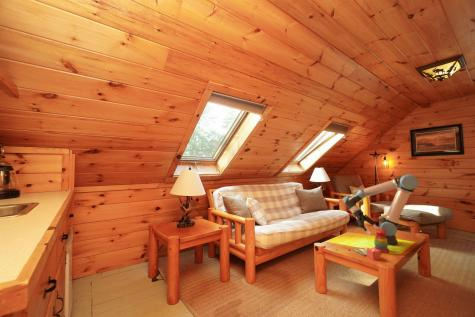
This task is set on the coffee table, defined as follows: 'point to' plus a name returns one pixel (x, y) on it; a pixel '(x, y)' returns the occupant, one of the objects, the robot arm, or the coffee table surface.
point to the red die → (373, 254)
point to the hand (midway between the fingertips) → (374, 232)
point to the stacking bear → (381, 241)
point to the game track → (362, 251)
